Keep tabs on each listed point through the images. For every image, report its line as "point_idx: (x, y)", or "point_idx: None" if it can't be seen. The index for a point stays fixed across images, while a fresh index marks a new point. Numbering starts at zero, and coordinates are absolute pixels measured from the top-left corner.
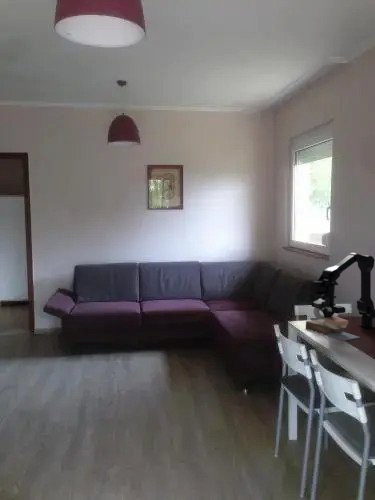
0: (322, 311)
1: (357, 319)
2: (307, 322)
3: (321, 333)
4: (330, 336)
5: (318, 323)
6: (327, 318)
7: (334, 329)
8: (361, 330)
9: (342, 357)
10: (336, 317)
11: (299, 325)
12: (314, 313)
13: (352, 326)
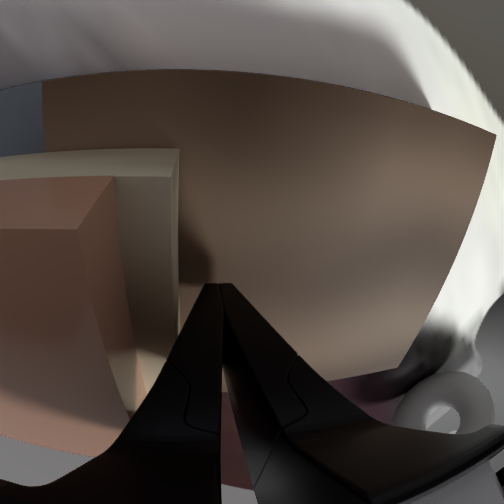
0: (387, 447)
1: None
2: (470, 124)
3: (157, 69)
4: (7, 89)
5: (326, 177)
6: (19, 261)
7: None
8: None
9: None
10: (97, 443)
11: (499, 162)
12: (475, 382)
13: (226, 442)
